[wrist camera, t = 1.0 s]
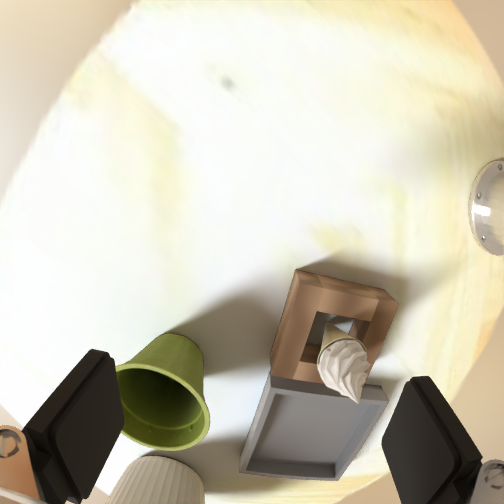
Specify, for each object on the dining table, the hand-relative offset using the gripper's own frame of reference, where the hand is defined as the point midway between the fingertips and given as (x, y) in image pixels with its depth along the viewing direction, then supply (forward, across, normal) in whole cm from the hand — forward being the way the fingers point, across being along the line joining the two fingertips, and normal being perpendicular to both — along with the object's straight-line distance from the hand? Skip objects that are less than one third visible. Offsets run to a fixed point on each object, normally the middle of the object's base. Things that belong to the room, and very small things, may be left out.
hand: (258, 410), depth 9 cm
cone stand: (+27, -9, +10) cm, 30 cm away
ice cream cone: (+27, -9, +10) cm, 30 cm away
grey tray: (+27, -9, +27) cm, 39 cm away
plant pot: (+27, +10, +16) cm, 33 cm away
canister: (+27, +12, +43) cm, 52 cm away
